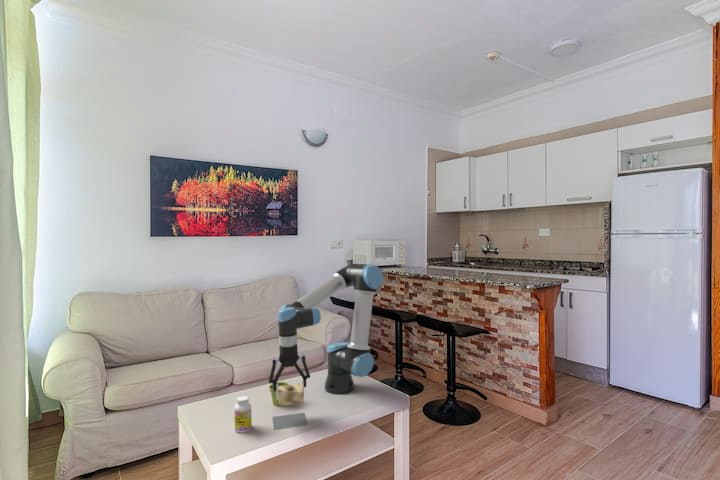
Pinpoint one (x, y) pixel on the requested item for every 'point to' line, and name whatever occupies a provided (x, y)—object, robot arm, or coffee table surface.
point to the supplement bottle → (243, 414)
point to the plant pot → (273, 393)
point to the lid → (290, 394)
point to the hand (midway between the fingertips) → (290, 396)
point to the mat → (289, 421)
